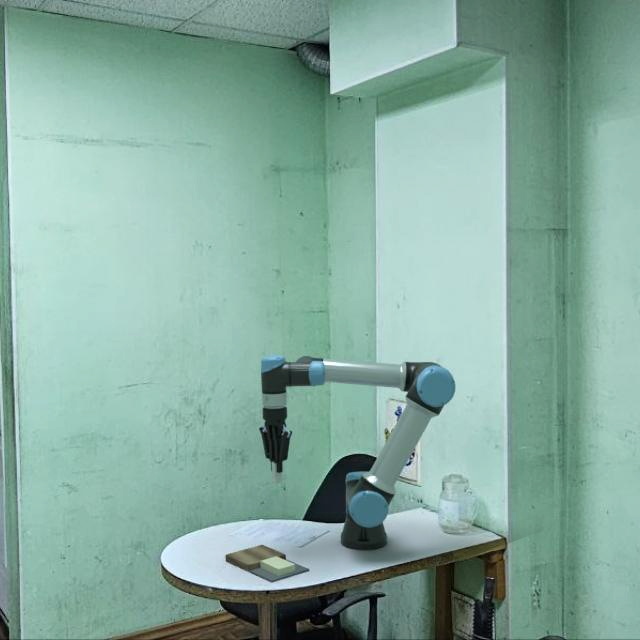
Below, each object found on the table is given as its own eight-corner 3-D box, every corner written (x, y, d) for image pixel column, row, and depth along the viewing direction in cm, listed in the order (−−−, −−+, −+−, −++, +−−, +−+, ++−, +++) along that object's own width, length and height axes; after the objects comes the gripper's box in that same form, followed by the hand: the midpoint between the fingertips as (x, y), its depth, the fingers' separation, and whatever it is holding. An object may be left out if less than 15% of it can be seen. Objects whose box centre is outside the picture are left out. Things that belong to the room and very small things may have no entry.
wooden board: (262, 550, 264) (262, 544, 264) (286, 560, 255) (286, 554, 255) (225, 561, 255) (225, 554, 255) (248, 571, 246) (248, 565, 246)
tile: (260, 567, 248) (260, 560, 248) (276, 562, 252) (276, 556, 252) (278, 576, 241) (278, 569, 241) (295, 571, 245) (295, 564, 245)
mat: (287, 561, 254) (287, 559, 254) (309, 570, 247) (309, 568, 247) (249, 572, 245) (249, 570, 245) (271, 582, 237) (271, 580, 237)
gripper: (251, 406, 257) (254, 481, 259) (279, 410, 248) (282, 488, 249) (270, 402, 262) (272, 476, 264) (298, 406, 253) (300, 483, 255)
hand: (277, 482), depth 257 cm, fingers closed
